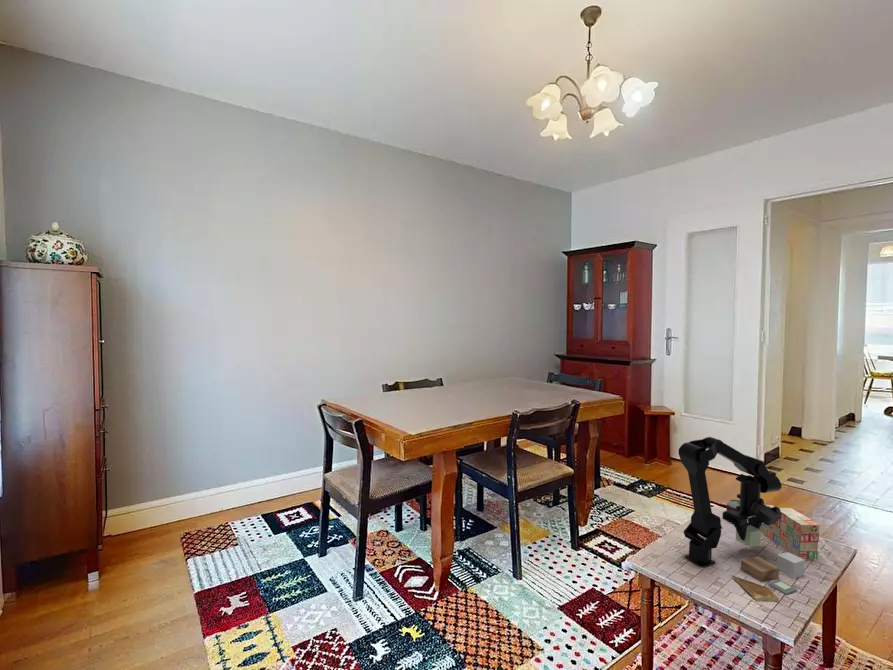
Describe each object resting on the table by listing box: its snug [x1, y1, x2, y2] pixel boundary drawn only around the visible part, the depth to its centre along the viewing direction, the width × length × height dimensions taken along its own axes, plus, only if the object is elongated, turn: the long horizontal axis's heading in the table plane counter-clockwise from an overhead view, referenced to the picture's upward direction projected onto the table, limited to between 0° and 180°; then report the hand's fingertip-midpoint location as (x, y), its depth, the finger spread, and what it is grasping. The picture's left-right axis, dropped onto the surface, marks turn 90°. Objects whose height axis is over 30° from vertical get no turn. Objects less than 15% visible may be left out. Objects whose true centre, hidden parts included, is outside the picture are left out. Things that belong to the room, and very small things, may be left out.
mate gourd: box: [726, 499, 740, 512], centre depth 173 cm, size 8×8×15 cm
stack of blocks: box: [759, 504, 820, 560], centre depth 158 cm, size 21×6×12 cm, turn 0°
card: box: [768, 579, 798, 596], centre depth 132 cm, size 5×5×1 cm
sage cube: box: [735, 525, 762, 548], centre depth 152 cm, size 5×5×5 cm
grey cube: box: [776, 551, 806, 579], centre depth 140 cm, size 5×5×5 cm
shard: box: [731, 574, 779, 602], centre depth 131 cm, size 11×8×2 cm
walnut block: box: [740, 555, 780, 583], centre depth 139 cm, size 7×7×4 cm
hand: (748, 538), depth 152 cm, fingers closed on sage cube, 5 cm apart
